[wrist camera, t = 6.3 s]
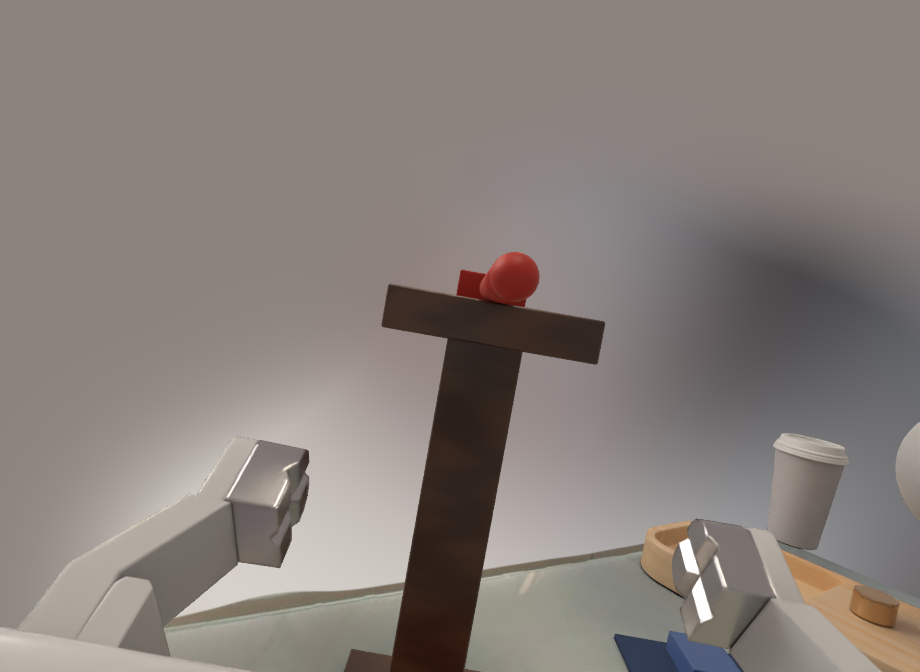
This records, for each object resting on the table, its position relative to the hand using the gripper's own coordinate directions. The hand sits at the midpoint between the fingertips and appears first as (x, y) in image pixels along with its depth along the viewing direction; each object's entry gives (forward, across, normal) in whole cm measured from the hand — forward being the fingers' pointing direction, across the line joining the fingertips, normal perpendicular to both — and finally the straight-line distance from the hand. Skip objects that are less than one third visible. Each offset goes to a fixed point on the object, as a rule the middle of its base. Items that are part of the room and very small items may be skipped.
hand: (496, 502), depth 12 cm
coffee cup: (+50, -52, +54) cm, 90 cm away
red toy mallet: (+16, 0, +4) cm, 16 cm away
